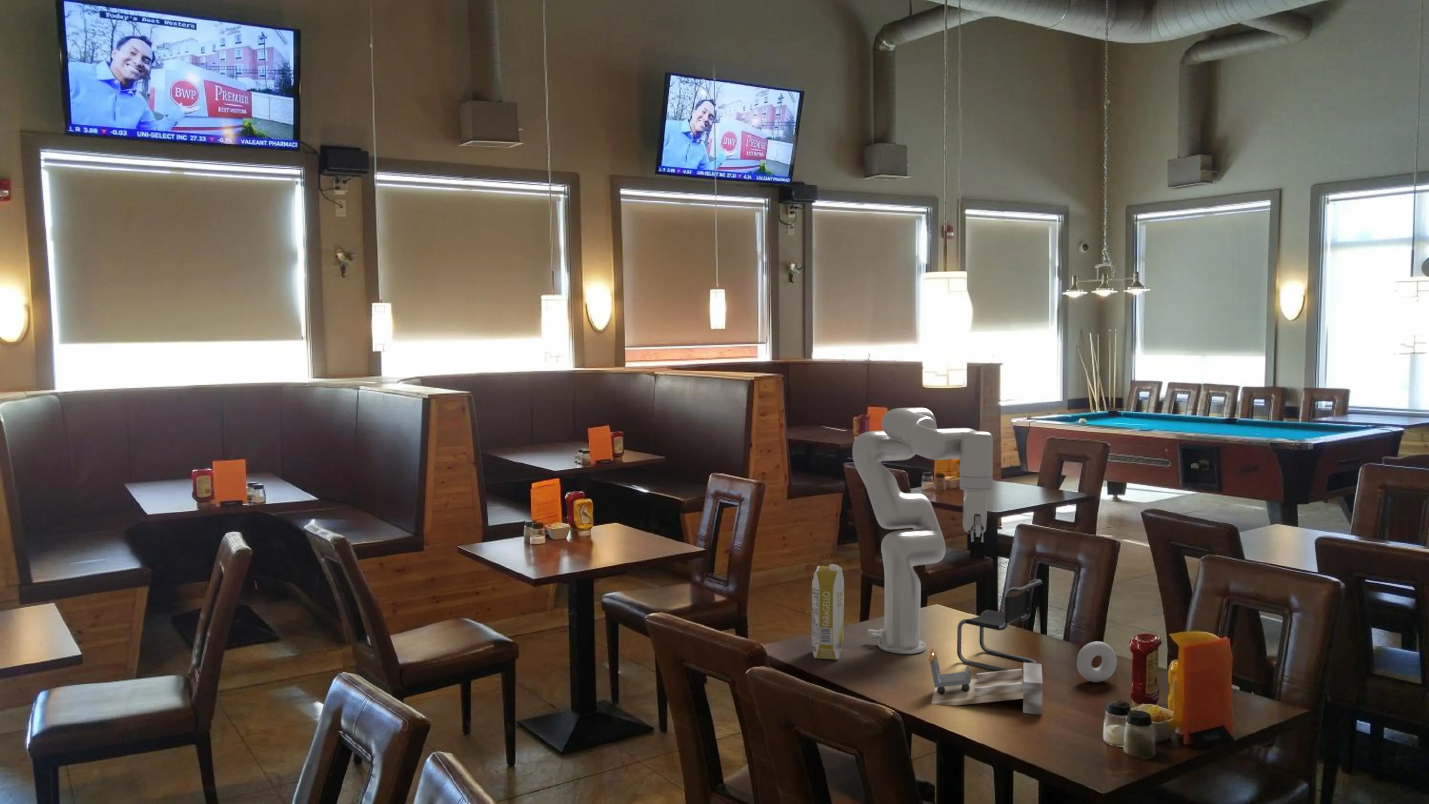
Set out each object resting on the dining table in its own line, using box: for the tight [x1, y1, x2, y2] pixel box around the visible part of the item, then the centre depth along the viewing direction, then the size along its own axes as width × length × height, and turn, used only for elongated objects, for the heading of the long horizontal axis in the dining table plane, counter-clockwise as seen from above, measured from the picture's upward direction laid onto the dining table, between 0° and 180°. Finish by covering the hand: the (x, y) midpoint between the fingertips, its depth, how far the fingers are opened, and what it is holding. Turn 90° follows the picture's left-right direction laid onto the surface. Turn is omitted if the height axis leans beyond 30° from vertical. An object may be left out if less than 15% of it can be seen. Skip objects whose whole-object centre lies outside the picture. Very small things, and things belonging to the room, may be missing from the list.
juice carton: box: [811, 563, 845, 660], centre depth 263 cm, size 9×8×24 cm
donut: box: [1076, 640, 1118, 683], centre depth 242 cm, size 10×4×10 cm, turn 99°
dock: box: [930, 661, 1044, 716], centre depth 232 cm, size 24×14×8 cm, turn 73°
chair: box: [956, 578, 1043, 674], centre depth 256 cm, size 13×17×22 cm
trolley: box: [928, 648, 972, 695], centre depth 234 cm, size 9×7×9 cm
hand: (975, 554), depth 240 cm, fingers open, 9 cm apart
